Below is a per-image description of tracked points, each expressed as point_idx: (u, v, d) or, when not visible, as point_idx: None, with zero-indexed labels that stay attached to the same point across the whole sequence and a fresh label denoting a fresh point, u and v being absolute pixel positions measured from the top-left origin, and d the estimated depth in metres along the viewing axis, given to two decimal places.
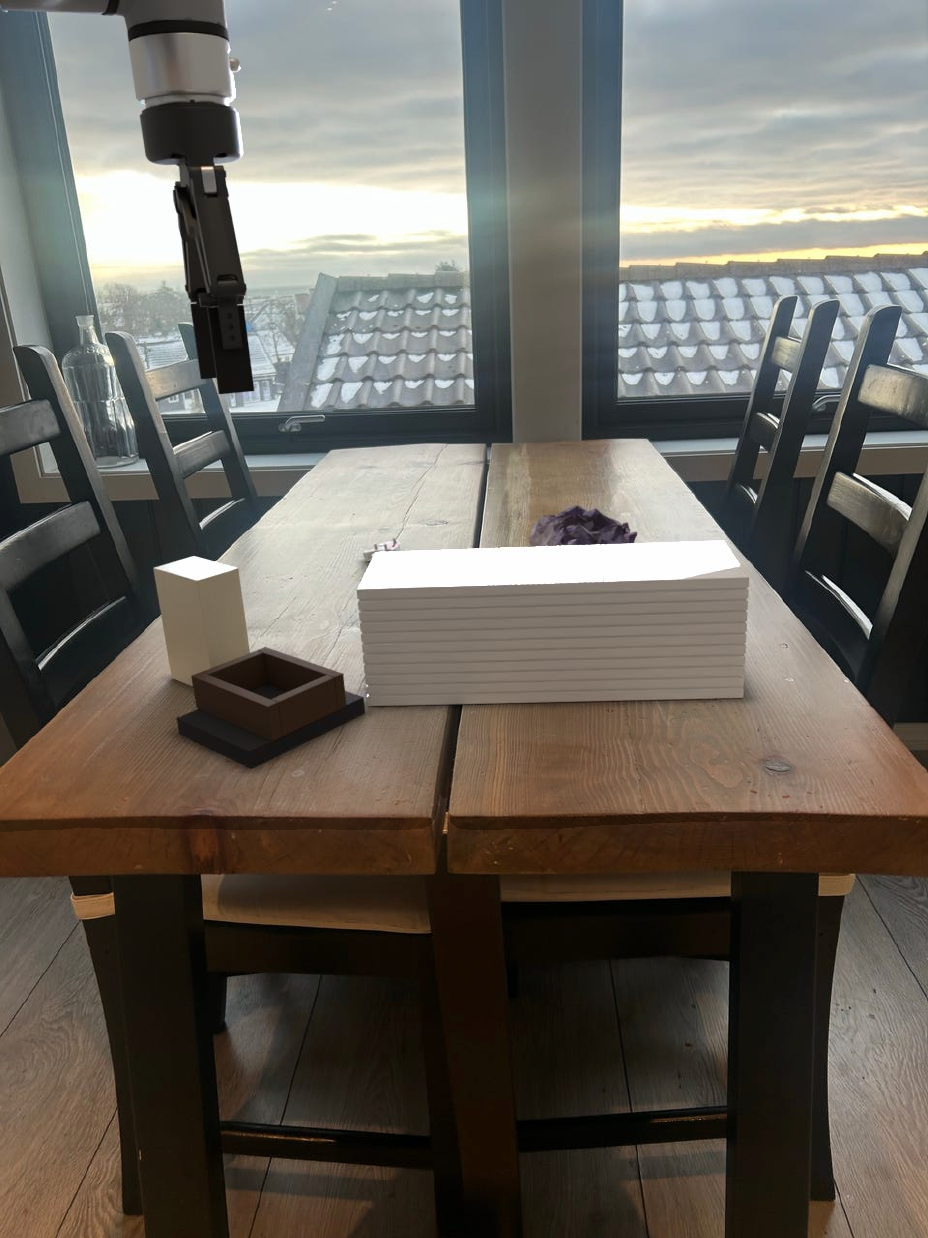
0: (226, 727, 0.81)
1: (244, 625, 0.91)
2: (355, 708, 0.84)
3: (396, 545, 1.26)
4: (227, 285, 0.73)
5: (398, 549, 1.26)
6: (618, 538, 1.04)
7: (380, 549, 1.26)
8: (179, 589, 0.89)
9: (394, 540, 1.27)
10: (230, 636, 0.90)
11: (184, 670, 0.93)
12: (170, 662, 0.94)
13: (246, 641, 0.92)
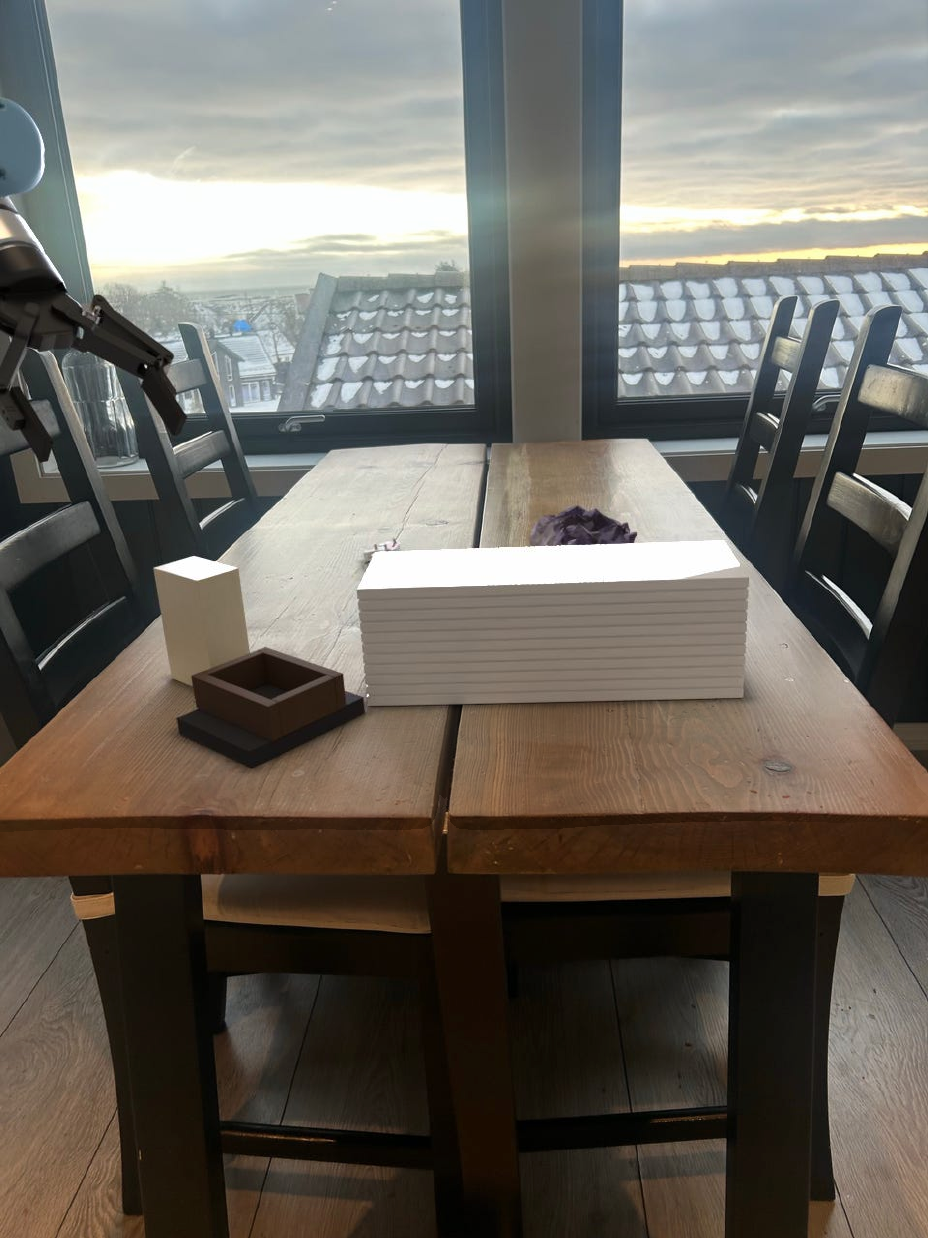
0: (226, 727, 0.81)
1: (244, 625, 0.91)
2: (355, 708, 0.84)
3: (396, 545, 1.26)
4: None
5: (398, 549, 1.26)
6: (618, 538, 1.04)
7: (380, 549, 1.26)
8: (179, 589, 0.89)
9: (394, 540, 1.27)
10: (230, 636, 0.90)
11: (184, 670, 0.93)
12: (170, 662, 0.94)
13: (246, 641, 0.92)
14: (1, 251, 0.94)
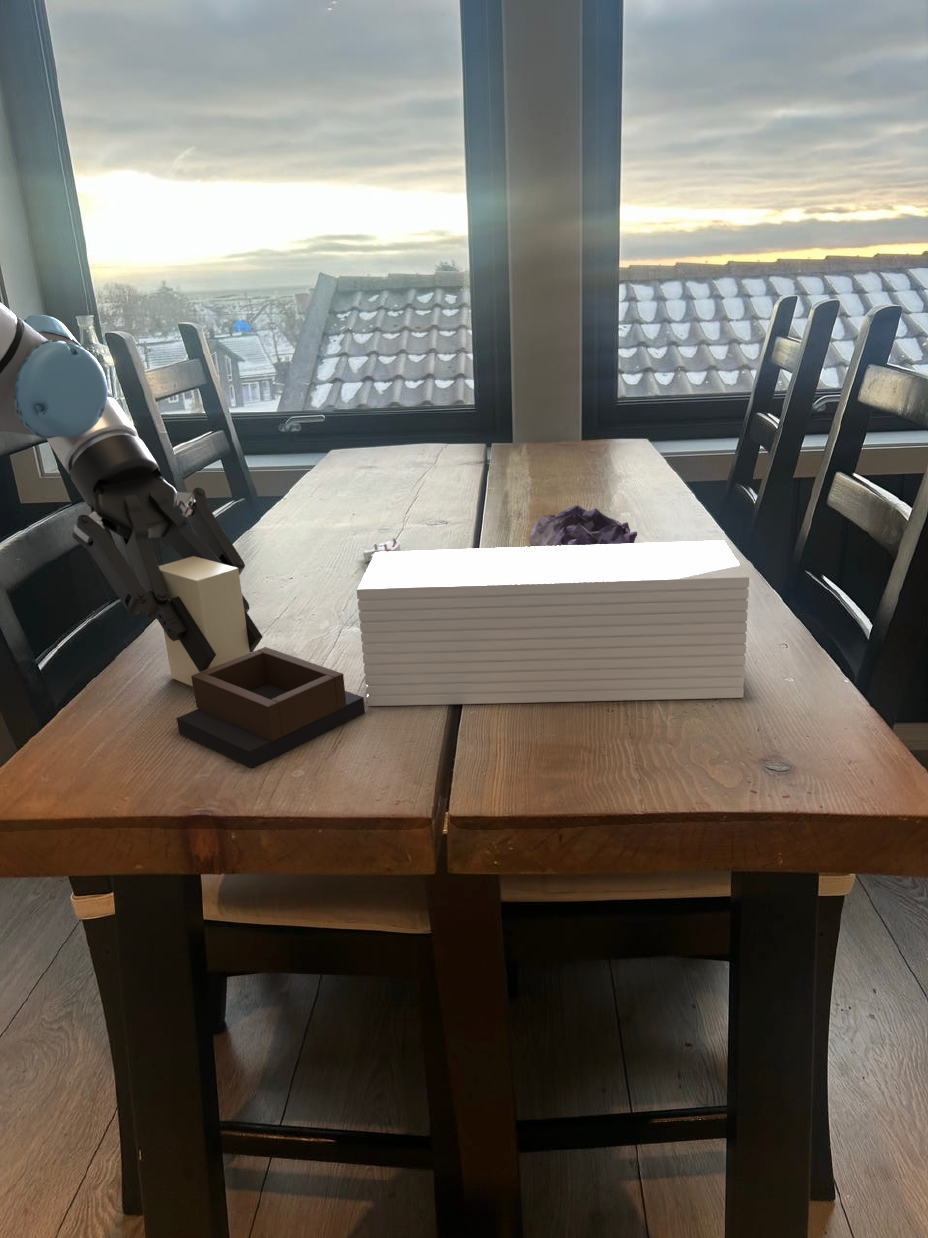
0: (226, 727, 0.81)
1: (244, 625, 0.91)
2: (355, 708, 0.84)
3: (396, 545, 1.26)
4: None
5: (398, 549, 1.26)
6: (618, 538, 1.04)
7: (380, 549, 1.26)
8: (179, 589, 0.89)
9: (394, 540, 1.27)
10: (230, 636, 0.90)
11: (184, 670, 0.93)
12: (170, 662, 0.94)
13: (246, 641, 0.92)
14: (99, 443, 0.92)
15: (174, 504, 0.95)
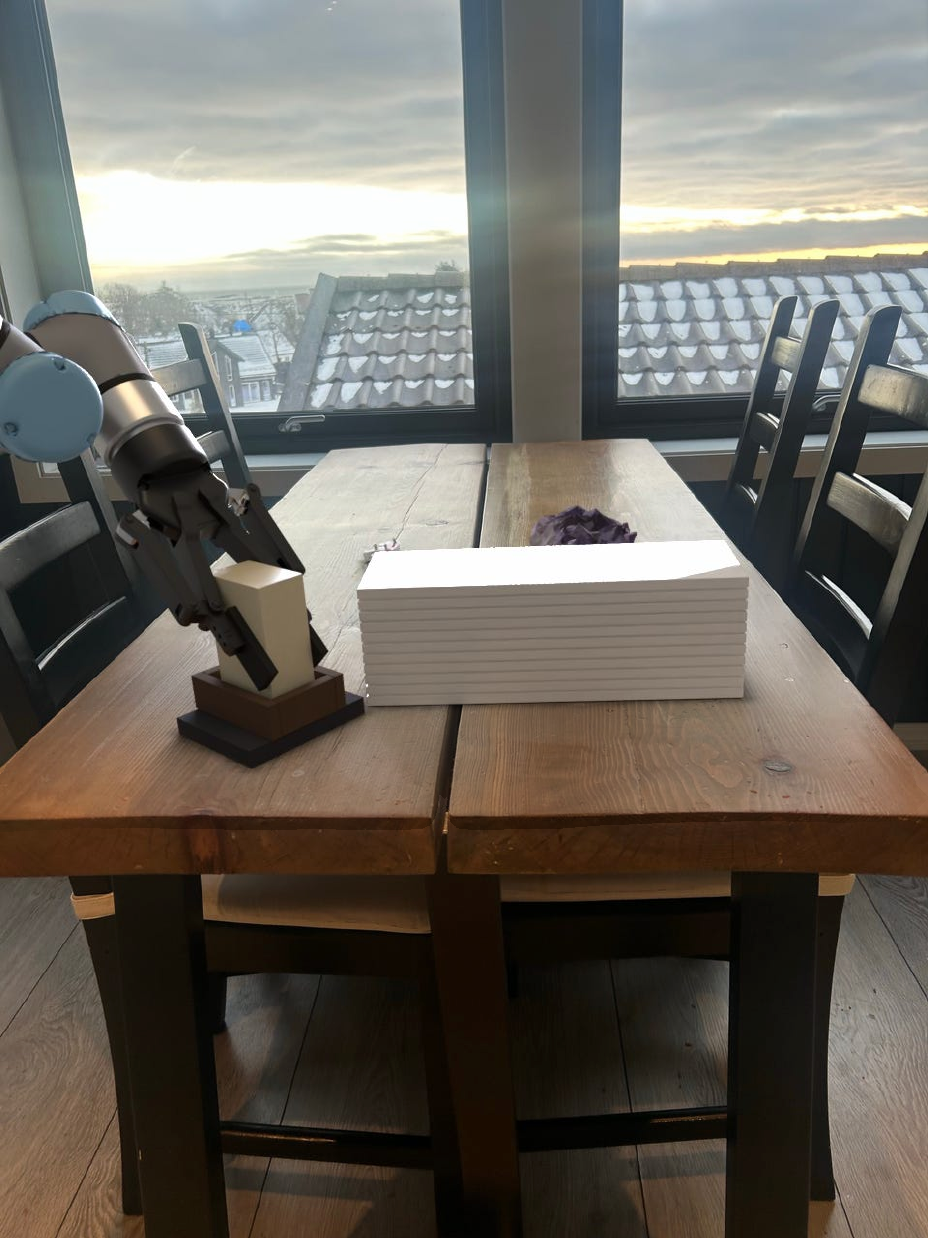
0: (226, 727, 0.81)
1: (308, 638, 0.81)
2: (355, 708, 0.84)
3: (396, 545, 1.26)
4: None
5: (398, 549, 1.26)
6: (618, 538, 1.04)
7: (380, 549, 1.26)
8: (237, 598, 0.79)
9: (394, 540, 1.27)
10: (293, 650, 0.80)
11: None
12: (223, 679, 0.84)
13: (310, 656, 0.81)
14: (144, 432, 0.81)
15: (226, 502, 0.85)
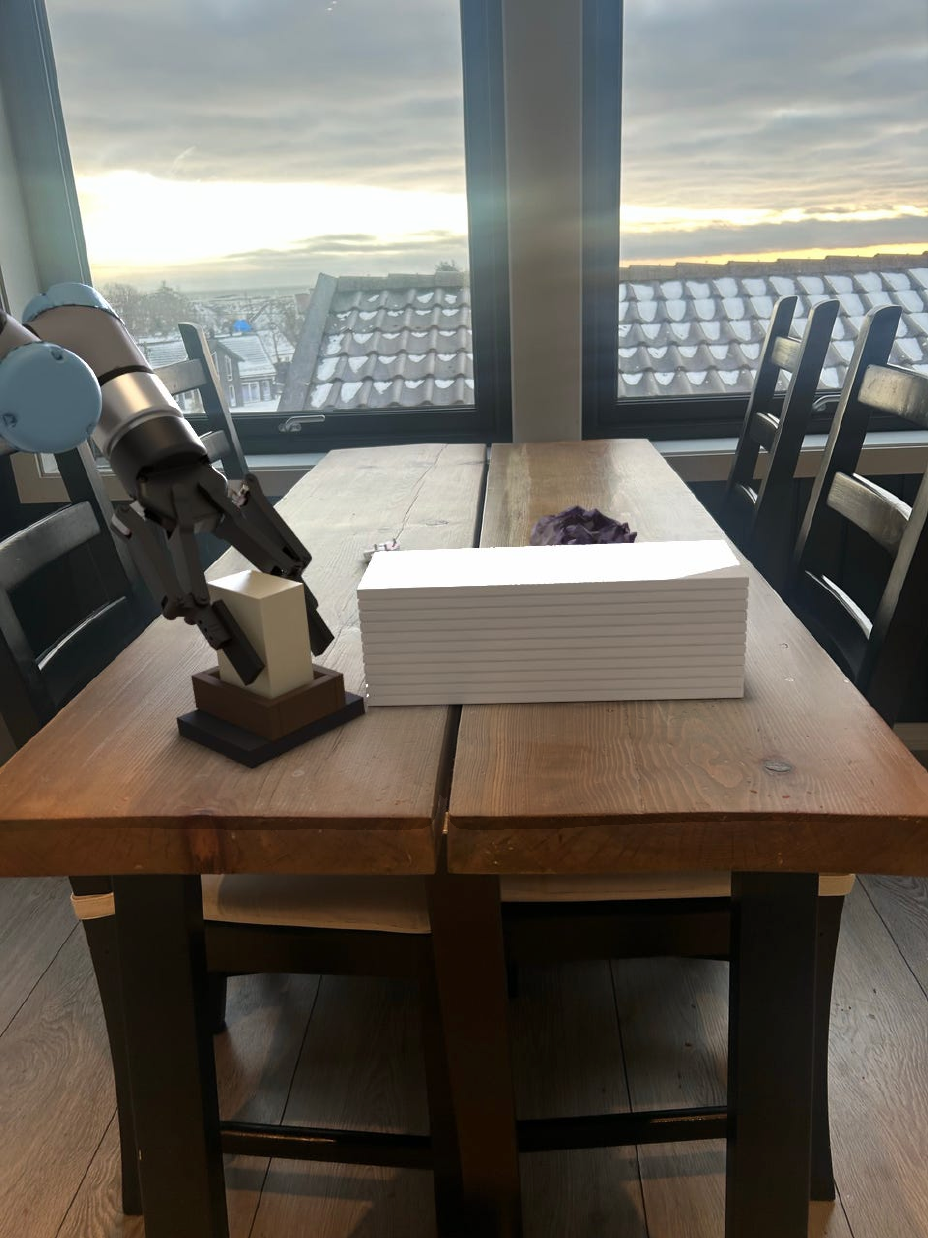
0: (226, 727, 0.81)
1: (308, 647, 0.81)
2: (355, 708, 0.84)
3: (396, 545, 1.26)
4: None
5: (398, 549, 1.26)
6: (618, 538, 1.04)
7: (380, 549, 1.26)
8: (237, 607, 0.79)
9: (394, 540, 1.27)
10: (294, 660, 0.80)
11: None
12: None
13: (310, 665, 0.82)
14: (143, 424, 0.81)
15: (227, 494, 0.85)
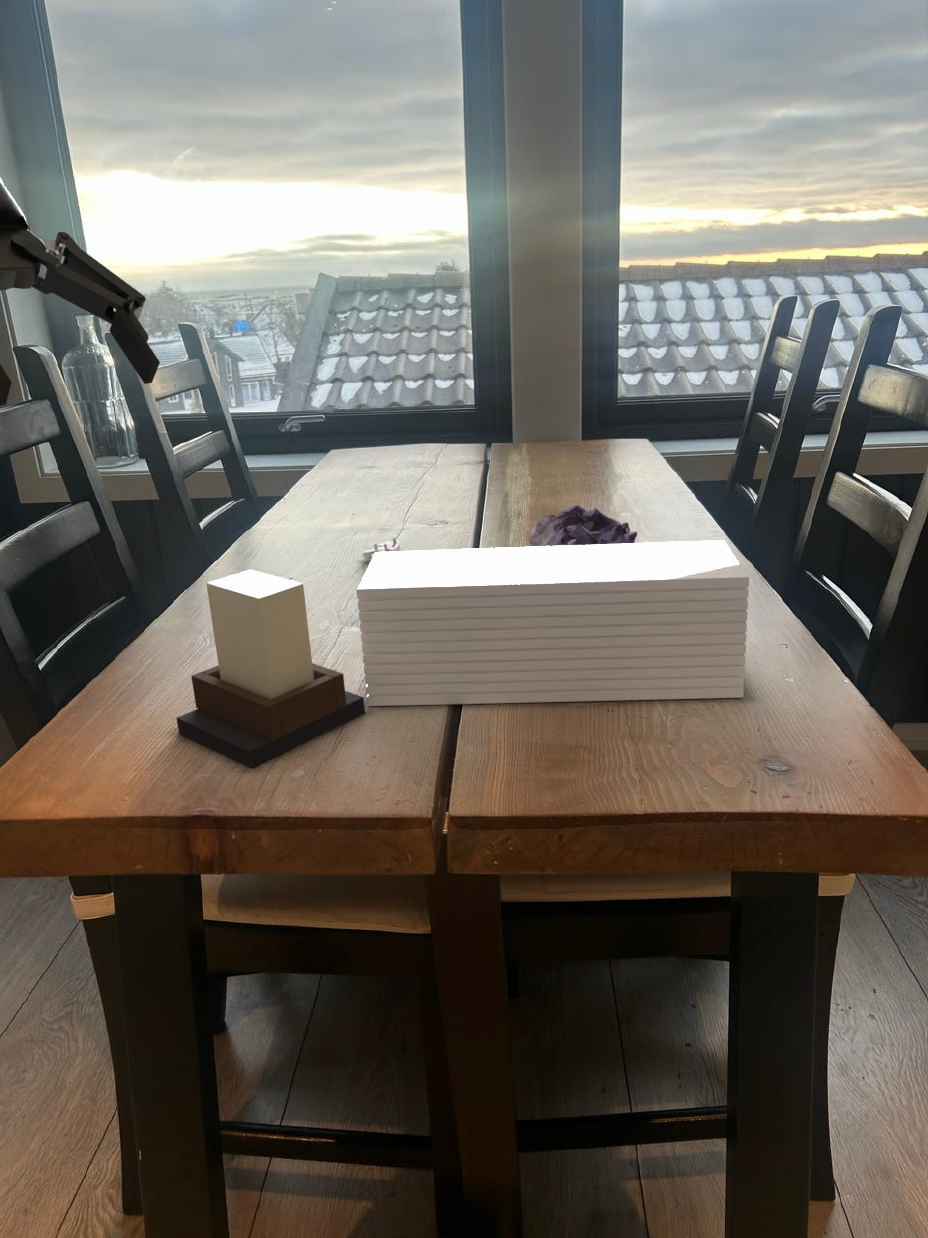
0: (226, 727, 0.81)
1: (308, 647, 0.81)
2: (355, 708, 0.84)
3: (396, 545, 1.26)
4: None
5: (398, 549, 1.26)
6: (618, 538, 1.04)
7: (380, 549, 1.26)
8: (237, 607, 0.79)
9: (394, 540, 1.27)
10: (294, 660, 0.80)
11: None
12: None
13: (310, 665, 0.82)
14: None
15: None
